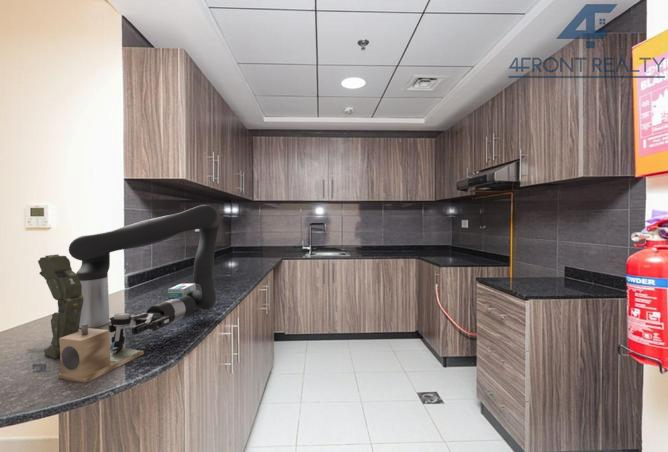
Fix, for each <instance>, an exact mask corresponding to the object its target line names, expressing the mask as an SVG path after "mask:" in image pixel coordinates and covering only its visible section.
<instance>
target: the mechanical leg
mask: <svg viewBox="0 0 668 452" xmlns="http://www.w3.org/2000/svg"><path fill="white" fill-rule="evenodd" d="M37 263H38V266H39V268H40V272H39V275H40V276H41V277H43V278H44V280H45V283H46V285H47V286H48V288H49V291H50V293H51V296H52V298H53V299H54V300H55V301H57V308H58V310H57V312H54V313H52V315H51V319H50V326H51V327H50V328H51V333H52V340H51V342H50V345H48V347H47V348H45V349H44V351H43V352H44V356H47V357H51V358H53V359H59V360H60V342H59V338H61V337H64V336H67V335H70V334H73V333H76V332H79V329H80V328H79V324H80V317H81V310H82V306H83V299H84V298H83V296H82V285H81V282H80V280H79V277H78V275H77V274H76V273H77V272H74V271H73V269H72V266H71V261H70V259H69V258H68V257H67V256H66V255H59V254H51V255H50V254H49V255H44V256H43V257H40V258H39V259H38V261H37Z"/></svg>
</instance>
